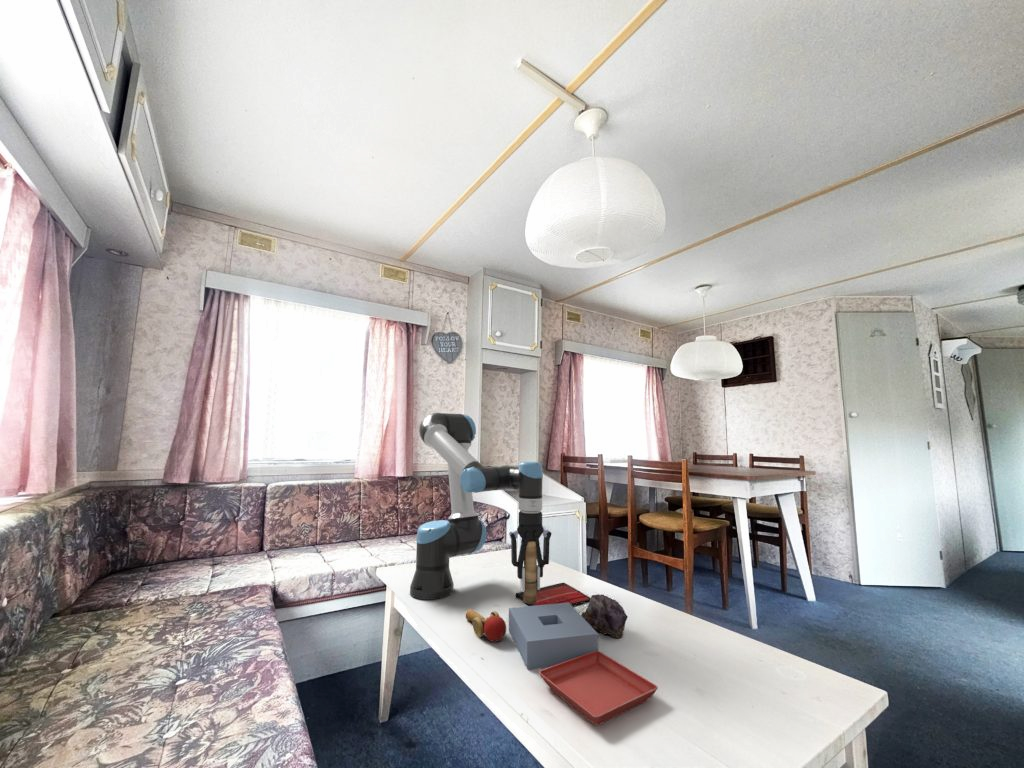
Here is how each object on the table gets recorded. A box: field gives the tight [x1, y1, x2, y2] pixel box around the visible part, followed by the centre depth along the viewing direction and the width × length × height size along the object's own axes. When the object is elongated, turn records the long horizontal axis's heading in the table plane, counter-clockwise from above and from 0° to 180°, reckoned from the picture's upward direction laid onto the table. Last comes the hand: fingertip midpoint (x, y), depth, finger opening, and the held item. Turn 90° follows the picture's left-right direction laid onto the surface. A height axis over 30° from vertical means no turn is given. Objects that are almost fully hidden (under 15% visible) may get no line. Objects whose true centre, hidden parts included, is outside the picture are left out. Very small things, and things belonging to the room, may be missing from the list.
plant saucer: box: [538, 650, 659, 726], centre depth 86 cm, size 18×18×3 cm
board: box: [508, 602, 599, 670], centre depth 107 cm, size 20×18×6 cm
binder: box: [515, 582, 591, 606], centre depth 137 cm, size 16×2×21 cm
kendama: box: [465, 608, 507, 642], centre depth 114 cm, size 8×6×18 cm
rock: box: [580, 593, 628, 639], centre depth 115 cm, size 12×9×10 cm
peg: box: [523, 541, 538, 605], centre depth 127 cm, size 4×4×18 cm
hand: (530, 588), depth 126 cm, fingers closed on peg, 4 cm apart
